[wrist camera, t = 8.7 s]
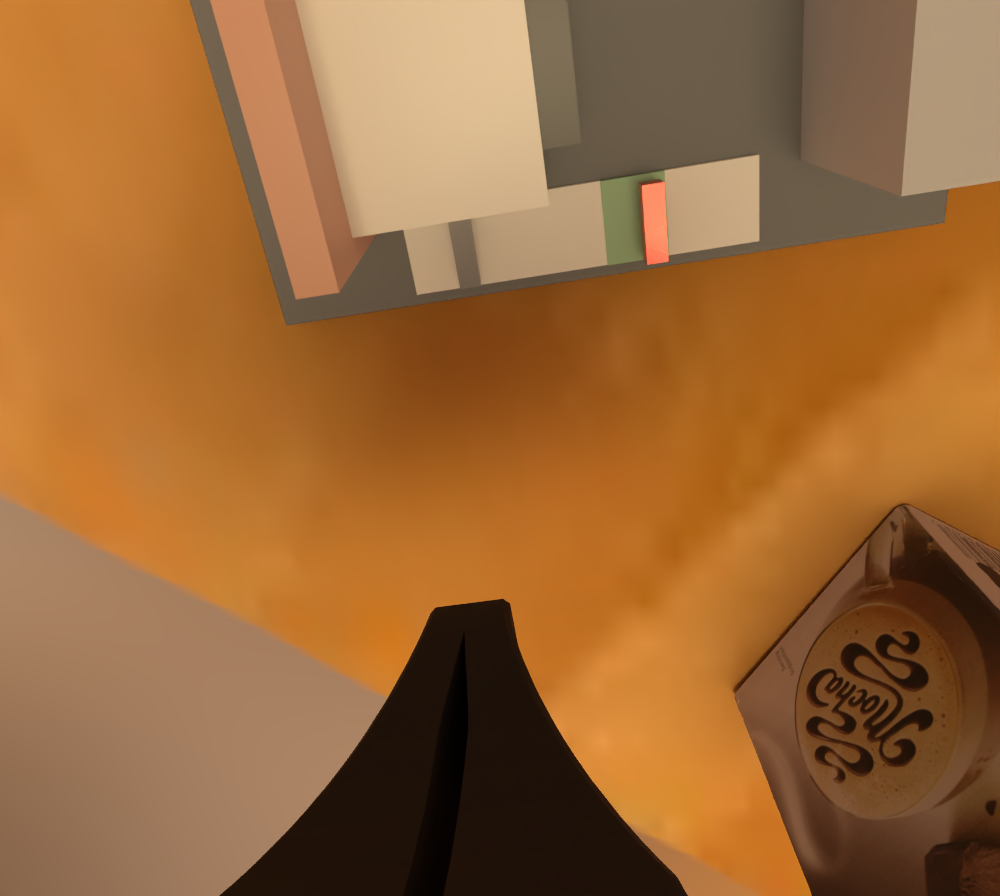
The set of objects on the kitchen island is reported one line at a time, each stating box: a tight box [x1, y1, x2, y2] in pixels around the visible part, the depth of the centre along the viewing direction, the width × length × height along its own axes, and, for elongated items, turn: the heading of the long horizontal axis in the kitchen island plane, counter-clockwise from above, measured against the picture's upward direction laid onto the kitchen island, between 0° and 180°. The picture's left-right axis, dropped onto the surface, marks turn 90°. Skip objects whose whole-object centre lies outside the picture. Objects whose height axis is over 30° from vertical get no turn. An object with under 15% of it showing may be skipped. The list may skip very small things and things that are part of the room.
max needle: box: [638, 179, 669, 265], centre depth 18 cm, size 1×2×1 cm, turn 10°
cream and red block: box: [210, 0, 582, 299], centre depth 15 cm, size 6×8×5 cm
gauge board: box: [190, 0, 1000, 325], centre depth 15 cm, size 16×10×6 cm, turn 99°
